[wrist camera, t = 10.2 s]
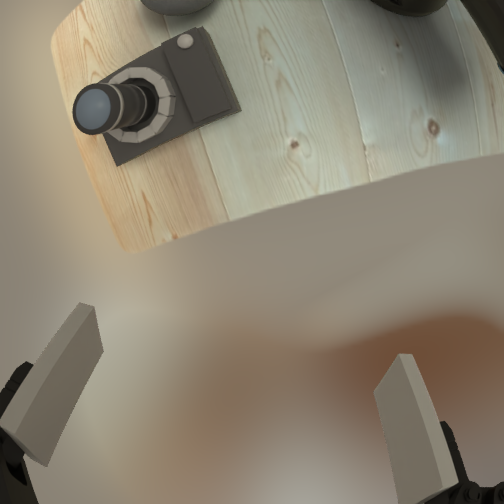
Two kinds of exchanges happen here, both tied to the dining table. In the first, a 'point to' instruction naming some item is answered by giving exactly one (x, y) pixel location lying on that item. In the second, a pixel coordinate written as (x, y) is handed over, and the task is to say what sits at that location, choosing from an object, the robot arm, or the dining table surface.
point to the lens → (112, 107)
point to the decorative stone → (176, 6)
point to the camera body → (173, 93)
